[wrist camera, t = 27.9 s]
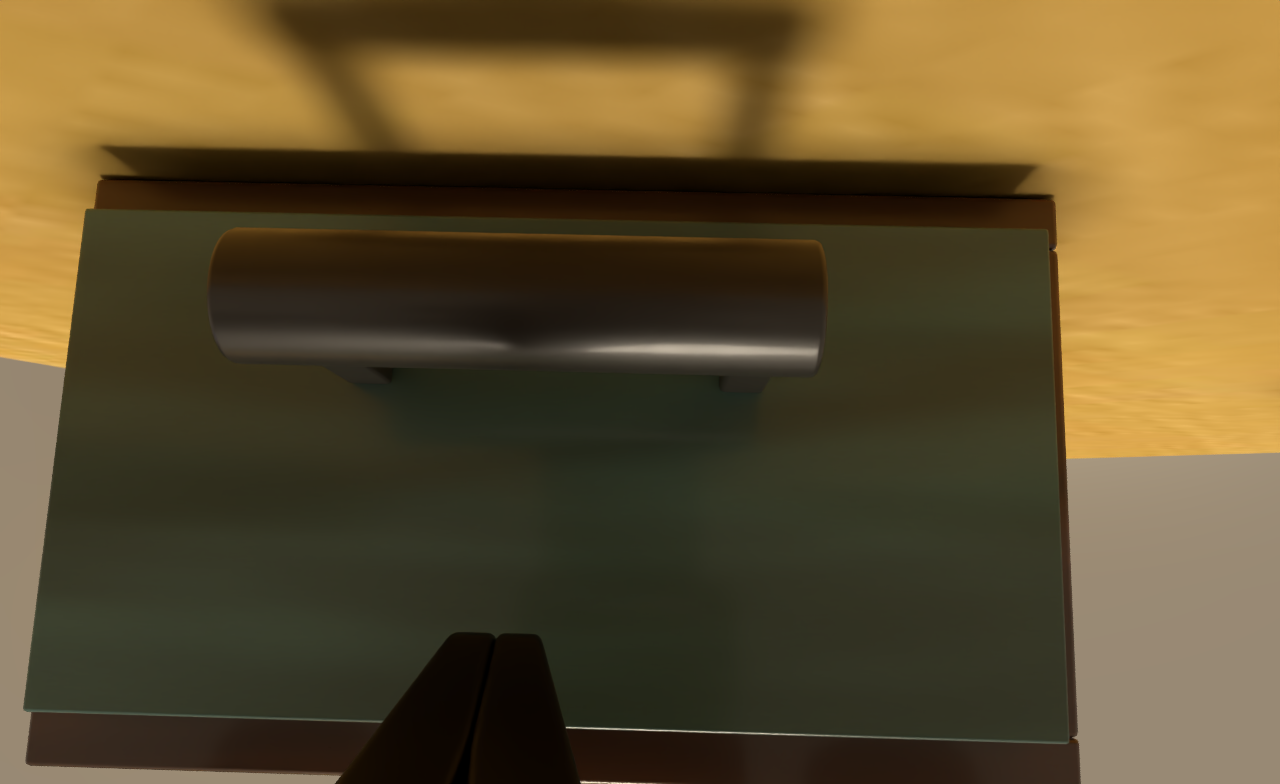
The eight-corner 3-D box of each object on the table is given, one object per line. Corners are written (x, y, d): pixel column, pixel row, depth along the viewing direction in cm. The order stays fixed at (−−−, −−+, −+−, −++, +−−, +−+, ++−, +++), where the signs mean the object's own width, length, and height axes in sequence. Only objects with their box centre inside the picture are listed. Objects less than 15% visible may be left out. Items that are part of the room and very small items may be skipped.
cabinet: (95, 178, 16) (22, 766, 14) (1057, 198, 15) (1083, 800, 14) (331, 342, 27) (304, 678, 26) (886, 355, 27) (890, 696, 25)
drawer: (-141, 65, 10) (-260, 775, 9) (1208, 90, 10) (1260, 825, 9) (323, 358, 25) (299, 649, 24) (882, 372, 24) (886, 667, 23)
